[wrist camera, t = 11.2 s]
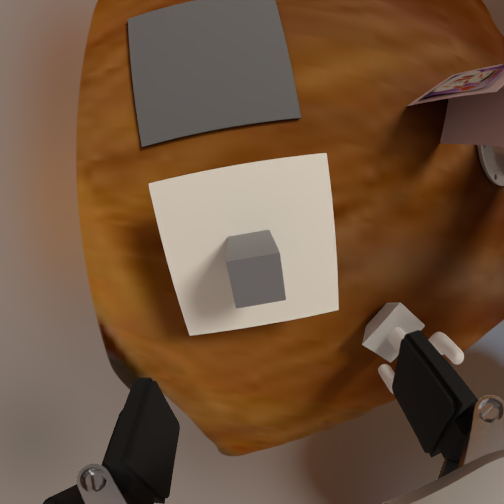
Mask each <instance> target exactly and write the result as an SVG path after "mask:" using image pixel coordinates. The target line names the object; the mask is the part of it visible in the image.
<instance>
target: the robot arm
mask: <svg viewBox="0 0 504 504" xmlns="http://www.w3.org/2000/svg"><path fill="white" fill-rule="evenodd" d="M477 147H478V153H479V158H480V162H481V164H482V167H483V170H484V172H485V174H486V175H487V177H488V178H489V180H490V181H491V182H493V183H494V184H496V185H499V186H504V147H497V146H485V145H477ZM392 391H393V393H394V395H395V397H396V399H397V401H398V402H399V404H400V406H401V408H402V410H403V412H404V413H405V415H406V417H407V419H408V421H409V423H410V424H411V426H412V428H413V430H414V432H415V434H416V436H417V438H418V440H419V442H420V444H421V446H422V448H423V450H424V451H425V452H426V453H429V454H430V456H431V457H433V456H435V455H437V454H439V453H442V455H443V457H444V461H443V465H442V467H441V471H440V474H439V477H438V479H437V480H435V481H433V482H431V483H429V484H427V485H425V486H423V487H420V488H418V489H416V490H413V491H411V492H409V493H407V494H405V495H402V496H399V497H397V498H394V499H392V500H389V501H386V502H383V503H381V504H504V401H503V400H502V399H501V398H499V397H497V396H493V395H487V396H484V397H482V398H481V399H479V400H478V399H477V398H476V397H475V395H474V394H473V393H472V391H471V390H470V389H469V388H468V386H467V385H466V384H465V382H464V381H463V380H462V379H461V377H460V376H459V375H458V374H457V372H456V371H455V370H454V369H453V368H452V366H451V365H450V364H449V363H448V361H447V360H446V359H445V358H444V357H443V356H442V355H441V354H440V353H439V352H438V351H437V349H436V348H435V347H434V346H433V345H432V343H431V342H430V341H429V340H428V339H427V338H426V337H425V335H424V334H423V333H422V332H421V331H420V330H417V331H414V332H411V333H408V334H405V336H404V339H402V340H401V343H400V349H399V355H398V360H397V365H396V370H395V375H394V379H393V383H392ZM179 430H180V427H179V422H178V420H177V419H176V417H175V415H174V413H173V412H172V410H171V408H170V406H169V405H168V403H167V401H166V399H165V397H164V395H163V393H162V391H161V390H160V388H159V386H158V384H157V382H156V381H153V380H152V379H151V378H136V379H135V380H134V382H133V385H132V387H131V390H130V393H129V395H128V398H127V401H126V403H125V406H124V408H123V410H122V411H121V413H120V414H119V417H118V420H117V422H116V426H115V428H114V431H113V434H112V436H111V439H110V442H109V445H108V448H107V451H106V453H105V457H104V460H103V462H102V465H99V464H90V465H87V466H85V467H84V468H82V469H81V470H80V471H79V473H78V476H77V484H76V485H74V486H73V487H71V488H68V489H66V490H64V491H62V492H60V493H58V494H56V495H54V496H52V497H49V498H48V499H46V500H45V501H44V503H43V504H154V503H163V504H164V503H165V498H168V497H169V494H170V487H171V480H172V473H173V467H174V460H175V454H176V448H177V442H178V436H179Z"/></svg>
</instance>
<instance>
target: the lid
mask: <svg viewBox="0 0 504 504" xmlns="http://www.w3.org/2000/svg"><path fill="white" fill-rule="evenodd" d="M149 188H150V193H151V198H152V202H153V207H154V211H155V216H156V220H157V224H158V228H159V232H160V236H161V240H162V244H163V248H164V252H165V256H166V259H167V263H168V267H169V270H170V274H171V277H172V281H173V284H174V288H175V291H176V294H177V298H178V301H179V304H180V307H181V311H182V314H183V317H184V320H185V323H186V326H187V329H188V332H189V335H190V336H192V335H200V334H207V333H215V332H222V331H229V330H235V329H242V328H248V327H254V326H260V325H266V324H272V323H277V322H283V321H288V320H293V319H298V318H303V317H308V316H313V315H318V314H323V313H327V312H332V311H336V310H339V306H338V274H337V255H336V239H335V226H334V215H333V204H332V194H331V185H330V177H329V168H328V161H327V153H320V154H311V155H302V156H294V157H286V158H278V159H271V160H264V161H258V162H252V163H245V164H239V165H234V166H228V167H223V168H217V169H212V170H207V171H202V172H197V173H192V174H187V175H183V176H178V177H174V178H169V179H165V180H161V181H157V182H153V183H149Z"/></svg>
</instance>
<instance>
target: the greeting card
mask: <svg viewBox="0 0 504 504" xmlns="http://www.w3.org/2000/svg"><path fill="white" fill-rule="evenodd" d="M448 98H449V99H448ZM442 99H448V105H447V111H446V116H445V121H444V126H443V131H442V136H441V140H440V143H449V144H471V145H485V146H497V147H504V64H502V65H496V66H490V67H485V68H480V69H476V70H471V71H467V72H462V73H458V74H454V75H451V76H450V77H448V78H447V79H445V80H444V81H442V82H441V83H439V84H438V85H436V86H435V87H434V88H432V89H431V90H429V91H428V92H426V93H425V94H423V95H422V96H420V97H419V98H418V99H416V100H415V101H413V102H412V103H410V104H409V105H407V106H411V105H415V104H420V103H425V102H431V101H436V100H442Z"/></svg>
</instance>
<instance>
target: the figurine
mask: <svg viewBox="0 0 504 504" xmlns="http://www.w3.org/2000/svg"><path fill="white" fill-rule="evenodd" d="M424 327H425V325H424V324H423V323H422V322H421V321H420V320H419V319H418V318H417V317H416V316H415V315H414V314H412V313H411V312H410V311H409V310H408V309H407V308H406V307H405V306H404V305H403V304H402V303H400V302H396V303H386V304H385V305H384V306H383V307H382V308H381V310H380V311H379V312H378V313H377V314H376V315H375V316H374V317H373V319H372V320H371V321H370V322H369V323H368V324H367V325H366V327H365V332H364V337H363V342H362V345H364V346H365V347H367V348H368V349H370V350H371V351H373V352H375V353H376V354H378V355H379V356H381V357H382V358H384V359H386V360H387V361H389V362H390V363H391V362H392V361H393V360H394V359H395V358H396V357H397V356H398V355H399V349H400V343H401V340H402V339H404V336H405V334H408V333H411V332H414V331H417V330H420V331H421V330H422V329H423V328H424ZM428 340H429V341H430V342H431V343H432V345H433V346H434V347H435V348H436V349H437V351H438V352H439V353H440V354H441V355H443V354H445V355H446V356H447V357H448V358H449V359H450V360H451V361H452V362H453V363H454V364H460V363H461V362H462V361H463V360H464V354H463V352H462V351H461V350H460V348H459V347H458V346H457V345H456V344H455V343H454V342H453V341H452V340H451V339H450V338H449V337H448V336H447V335H445V334H444V333H442V332H436V333H434V334H433V335H432V336H431V337H430V338H429V339H428ZM378 372H379V374H380V376H381V378H382V379H383V381H384V383H385V384H386V386H387V388H388V389H389V390H390V392H391V393H392V394H394V393H393V391H392V383H393V379H394V375H395V373H394V371H393V370H392V368H391V367H390V366H389V365H387V364H382V365H380V366H379V368H378Z"/></svg>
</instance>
